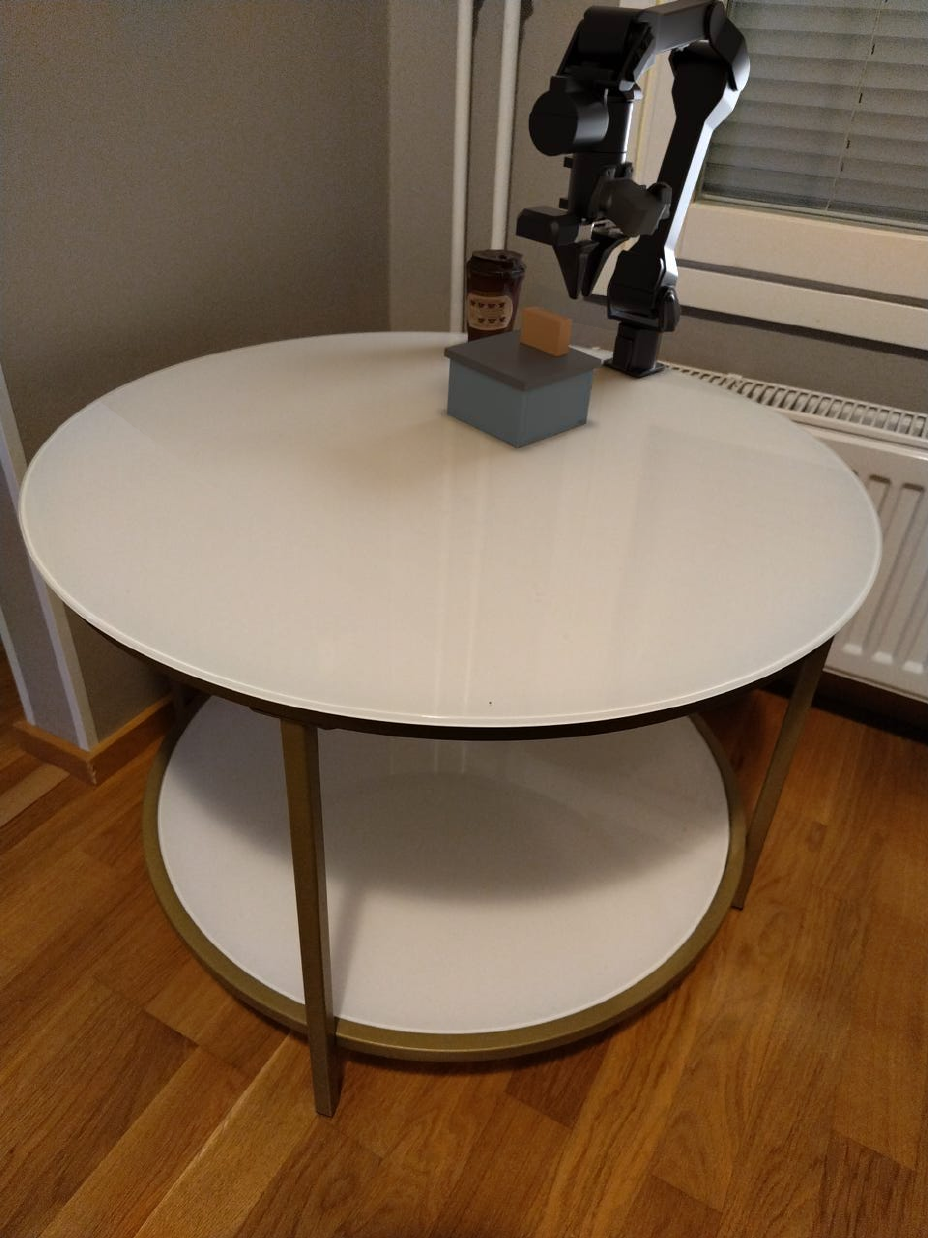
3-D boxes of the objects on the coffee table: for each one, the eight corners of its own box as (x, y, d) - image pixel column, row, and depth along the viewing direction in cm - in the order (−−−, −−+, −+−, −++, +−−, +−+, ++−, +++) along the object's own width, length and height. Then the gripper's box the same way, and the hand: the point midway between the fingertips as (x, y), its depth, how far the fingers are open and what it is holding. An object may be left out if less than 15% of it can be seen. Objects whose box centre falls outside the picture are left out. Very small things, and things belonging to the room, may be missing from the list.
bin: (515, 392, 111) (520, 338, 107) (586, 423, 104) (594, 367, 100) (446, 413, 104) (449, 356, 100) (517, 448, 98) (523, 388, 93)
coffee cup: (513, 361, 120) (522, 264, 113) (455, 354, 121) (460, 257, 114) (522, 342, 127) (531, 249, 120) (467, 335, 128) (473, 242, 121)
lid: (520, 336, 108) (524, 295, 105) (600, 367, 100) (607, 324, 97) (443, 356, 100) (445, 312, 97) (524, 391, 93) (528, 345, 90)
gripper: (602, 166, 83) (579, 329, 92) (711, 156, 94) (681, 302, 103) (519, 148, 89) (505, 302, 98) (630, 140, 100) (609, 280, 109)
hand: (579, 297), depth 102 cm, fingers closed
